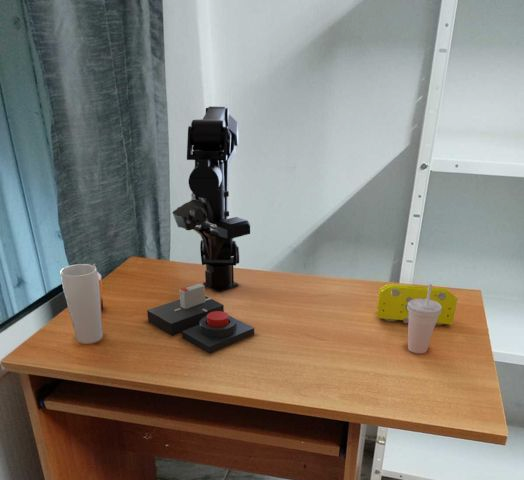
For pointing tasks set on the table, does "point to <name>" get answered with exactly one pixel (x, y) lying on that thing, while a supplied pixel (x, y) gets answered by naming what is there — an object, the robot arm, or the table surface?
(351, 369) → the table surface
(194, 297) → the grey block red tip
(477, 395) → the table surface
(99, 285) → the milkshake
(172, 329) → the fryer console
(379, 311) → the yellow toy chassis
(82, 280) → the drinking glass
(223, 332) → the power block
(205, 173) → the robot arm
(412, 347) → the smoothie
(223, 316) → the power button
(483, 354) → the table surface
